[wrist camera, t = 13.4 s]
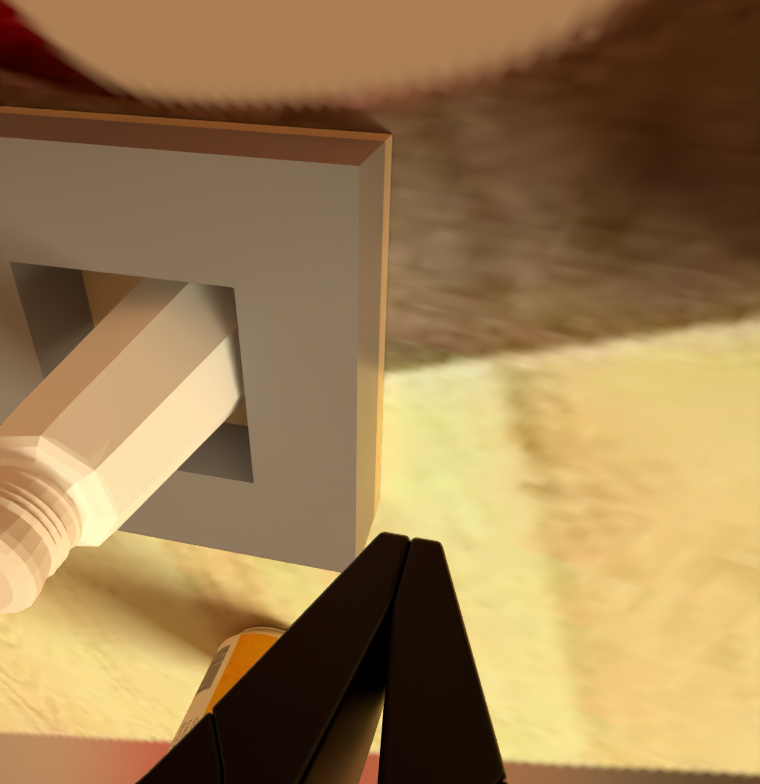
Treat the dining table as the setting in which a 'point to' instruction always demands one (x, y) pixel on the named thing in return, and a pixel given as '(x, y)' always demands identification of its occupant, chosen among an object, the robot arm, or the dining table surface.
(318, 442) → the socket block
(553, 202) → the dining table surface
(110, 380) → the pepper shaker
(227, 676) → the beer can
